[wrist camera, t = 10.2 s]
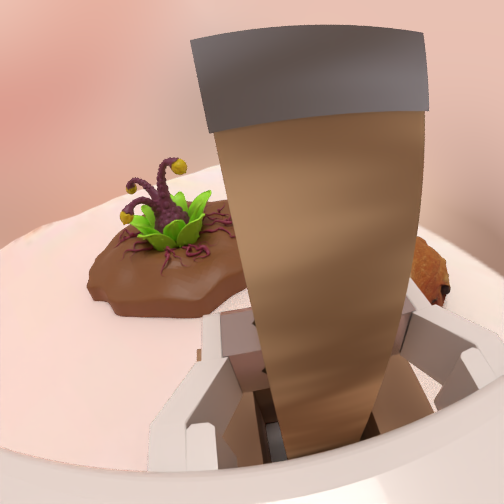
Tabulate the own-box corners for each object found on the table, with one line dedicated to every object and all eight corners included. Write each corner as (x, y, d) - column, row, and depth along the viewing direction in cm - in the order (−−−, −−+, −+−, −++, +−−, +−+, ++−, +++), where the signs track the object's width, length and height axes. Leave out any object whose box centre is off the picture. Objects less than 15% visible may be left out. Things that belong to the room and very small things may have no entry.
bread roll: (360, 283, 30) (328, 216, 28) (455, 266, 23) (432, 185, 20) (326, 358, 23) (281, 283, 21) (450, 352, 16) (429, 255, 14)
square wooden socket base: (233, 542, 10) (204, 541, 7) (219, 394, 18) (196, 349, 15) (422, 494, 10) (460, 472, 7) (369, 361, 18) (379, 309, 15)
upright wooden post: (290, 475, 12) (190, 40, 3) (280, 423, 14) (201, 57, 5) (352, 459, 12) (423, 32, 3) (337, 410, 14) (341, 43, 5)
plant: (234, 342, 22) (194, 206, 16) (72, 305, 29) (25, 216, 23) (290, 214, 37) (279, 125, 31) (160, 214, 44) (139, 143, 38)
